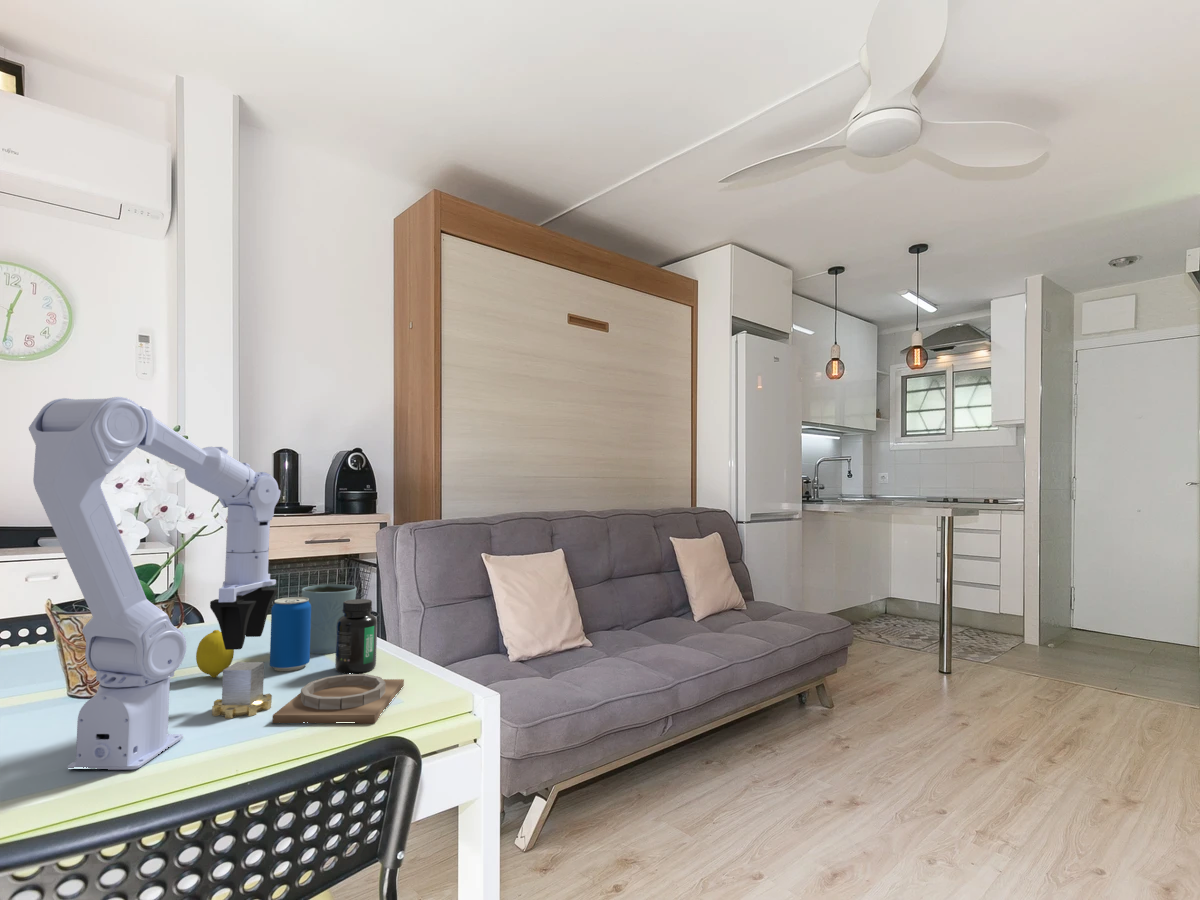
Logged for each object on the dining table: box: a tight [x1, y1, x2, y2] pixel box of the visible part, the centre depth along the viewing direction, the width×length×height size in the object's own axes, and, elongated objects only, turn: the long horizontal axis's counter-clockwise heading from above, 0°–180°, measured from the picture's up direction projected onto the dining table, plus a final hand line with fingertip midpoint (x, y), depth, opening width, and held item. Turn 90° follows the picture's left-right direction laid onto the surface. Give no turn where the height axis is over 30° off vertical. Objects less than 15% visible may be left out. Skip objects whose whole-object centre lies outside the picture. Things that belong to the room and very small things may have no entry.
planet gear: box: [211, 661, 273, 719], centre depth 97 cm, size 8×8×6 cm
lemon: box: [195, 629, 235, 678], centre depth 111 cm, size 6×6×8 cm
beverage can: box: [269, 596, 311, 672], centre depth 118 cm, size 6×6×12 cm
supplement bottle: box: [334, 598, 378, 675], centre depth 117 cm, size 7×7×12 cm
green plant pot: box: [301, 583, 357, 655], centre depth 131 cm, size 10×10×12 cm
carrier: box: [271, 673, 405, 725], centre depth 99 cm, size 16×14×3 cm
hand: (244, 642), depth 98 cm, fingers open, 7 cm apart
